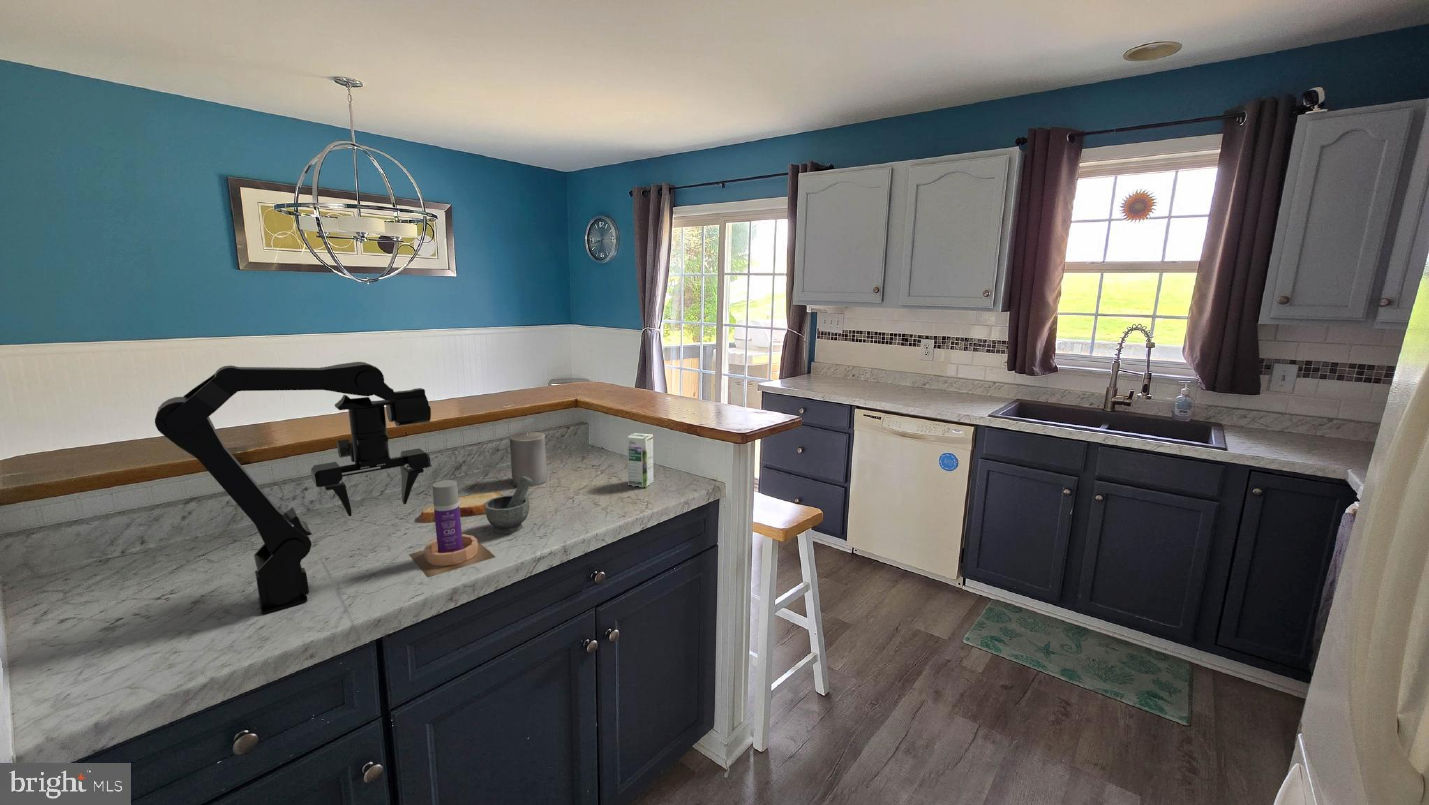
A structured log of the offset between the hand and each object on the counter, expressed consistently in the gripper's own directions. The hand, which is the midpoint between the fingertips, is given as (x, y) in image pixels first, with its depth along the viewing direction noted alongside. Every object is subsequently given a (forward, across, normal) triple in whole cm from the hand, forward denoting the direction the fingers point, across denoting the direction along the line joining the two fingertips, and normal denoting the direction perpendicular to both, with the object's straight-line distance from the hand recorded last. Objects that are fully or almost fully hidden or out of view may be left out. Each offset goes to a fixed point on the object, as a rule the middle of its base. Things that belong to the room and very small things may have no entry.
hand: (377, 509), depth 109 cm
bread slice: (+14, -24, -22) cm, 35 cm away
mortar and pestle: (+13, -27, -4) cm, 30 cm away
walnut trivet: (+13, -12, +2) cm, 18 cm away
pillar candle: (+13, -45, -34) cm, 58 cm away
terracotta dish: (+12, -12, +2) cm, 17 cm away
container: (+12, -12, +2) cm, 17 cm away
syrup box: (+13, -68, -11) cm, 70 cm away
